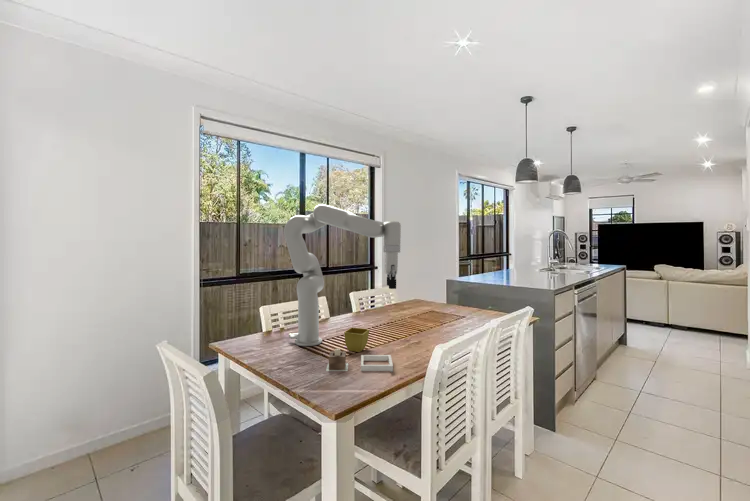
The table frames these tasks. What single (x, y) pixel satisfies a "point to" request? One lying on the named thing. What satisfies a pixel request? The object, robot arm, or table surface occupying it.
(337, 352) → the peg stand
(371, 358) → the light grey square frame
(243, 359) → the table surface
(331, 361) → the napkin ring
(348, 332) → the flower pot
